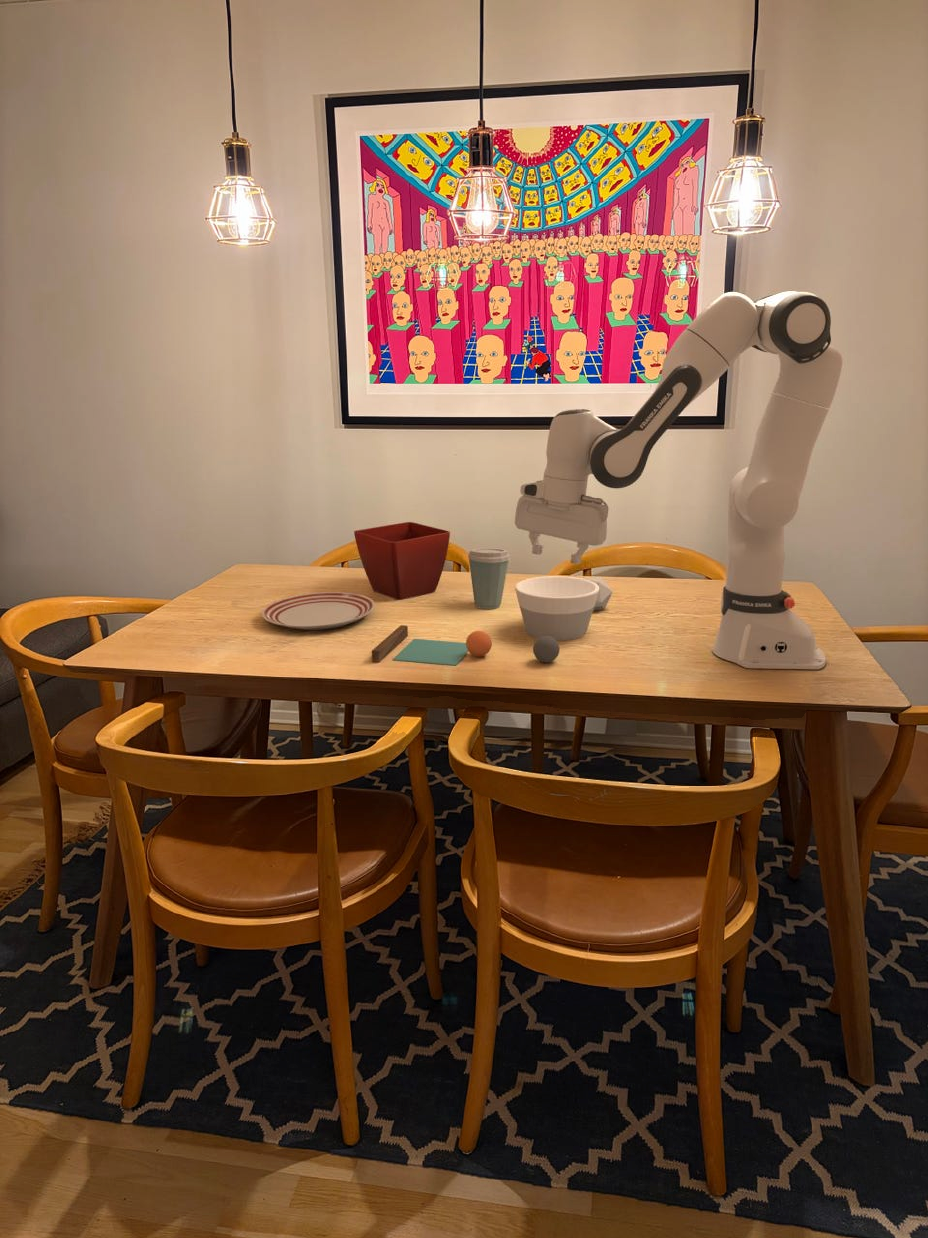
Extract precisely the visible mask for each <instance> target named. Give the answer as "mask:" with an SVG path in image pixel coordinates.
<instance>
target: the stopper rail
mask: <svg viewBox="0 0 928 1238" xmlns="http://www.w3.org/2000/svg"><path fill="white" fill-rule="evenodd" d="M408 631H409V630H408V625H406V624H405V625H403V624H402V625H401V624H400V625H399V626H398V627H397V628H396V629H394V631H393V632H391V633H390V634H389V635H388V636H387V637H386V638H384V639H383V640H382V641H381V642H380V643H379V644H377V646H375V647H374V648H373V649H372V650H371V662H372V663H380V662H382V660H384V659H385V658H386V657H387V656H388V655H389V654H391V652H392V651H393V650H395V649H396V648H397V647H398V646H399V645H400V644H401V643H403V641H404V640H405V639H407V638H408V636H409V632H408Z"/></svg>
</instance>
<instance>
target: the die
mask: <svg viewBox="0 0 928 1238" xmlns="http://www.w3.org/2000/svg"><path fill="white" fill-rule="evenodd" d="M583 579H585V580H589V581H591V582H594V583H596V584H597V585H598V586H599V592H598V596H597V599H596V603H595V606H594V609H593V611H600V610H601V611H602V610H606V607H607V605H608V603H609V601H610V599H611V596H612V594H613V593H614V592H613V590H612V589H611V587H610V586H609V585H608V584H607V583H606V581H605V580H604V579H603V578H602V576H597V577H589V578H588V577H587V578H585V577H584V578H583Z"/></svg>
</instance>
